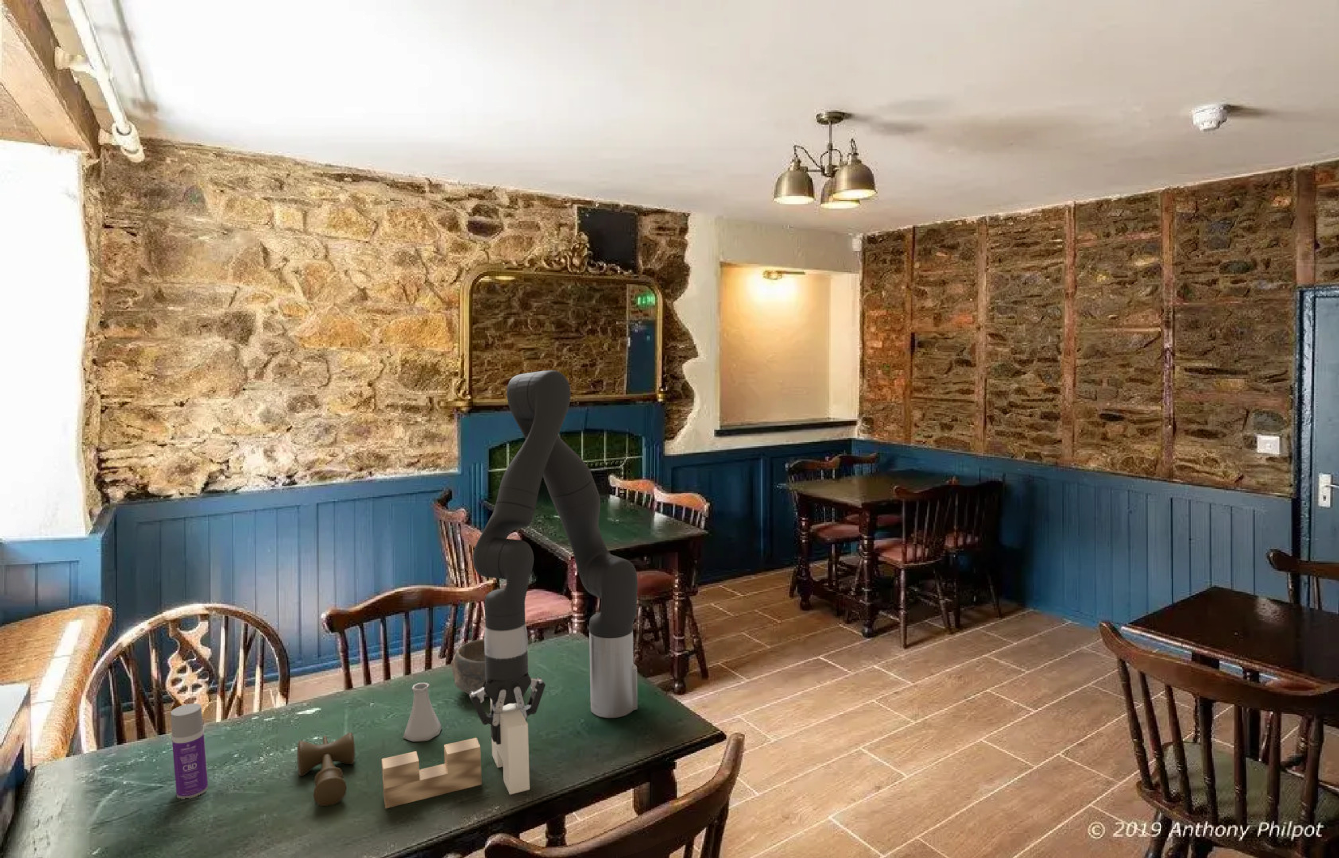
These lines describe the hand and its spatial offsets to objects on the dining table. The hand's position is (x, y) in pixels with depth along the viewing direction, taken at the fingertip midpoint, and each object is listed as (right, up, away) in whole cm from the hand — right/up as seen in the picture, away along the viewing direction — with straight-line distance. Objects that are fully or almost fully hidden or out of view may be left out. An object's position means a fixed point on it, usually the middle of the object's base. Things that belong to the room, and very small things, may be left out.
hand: (509, 739), depth 136 cm
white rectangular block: (0, -6, +1) cm, 6 cm away
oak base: (-12, -7, -5) cm, 15 cm away
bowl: (-12, -3, +33) cm, 35 cm away
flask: (-20, -5, +15) cm, 26 cm away
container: (-54, -7, -5) cm, 55 cm away
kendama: (-33, -7, 0) cm, 33 cm away
